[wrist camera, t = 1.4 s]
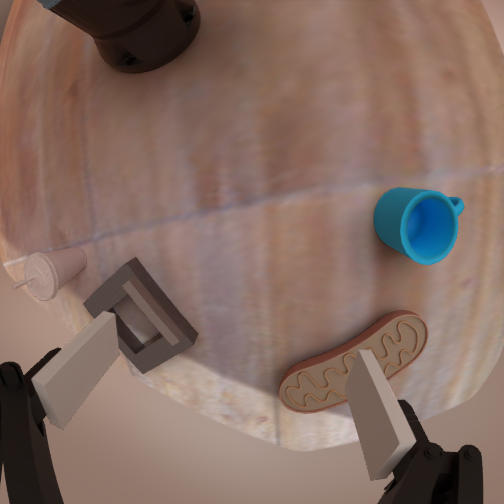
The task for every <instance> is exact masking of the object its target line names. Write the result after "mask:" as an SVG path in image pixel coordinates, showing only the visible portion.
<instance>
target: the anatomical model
mask: <svg viewBox="0 0 504 504" xmlns="http://www.w3.org/2000/svg"><path fill="white" fill-rule="evenodd" d="M427 340H428V327H427V324H426V323H425V321H424V320H423V319H422V318H421V317H420V316H419V315H417V314H415V313H413V312H410V311H405V310H400V311H394V312H391V313H389V314H387V315H385V316H384V317H383V318H381V319H380V320H379V321H377V322H376V323H375V324H374V325H372V326H371V327H370V328H368V329H367V330H365V331H364V332H363V333H361V334H360V335H358V336H357V337H355V338H353V339H352V340H350V341H348V342H347V343H345V344H343V345H341V346H339V347H337V348H335V349H333V350H331V351H329V352H327V353H324V354H321V355H319V356H316V357H313V358H310V359H308V360H305V361H302V362H299V363H297V364H295V365H294V366H292V367H291V368H290V369H289V370H288V371H287V372H286V373H285V375H284V376H283V378H282V380H281V383H280V387H279V397H280V400H281V402H282V404H283V405H284V406H285V407H287V408H288V409H290V410H292V411H294V412H298V413H304V414H307V413H316V412H320V411H324V410H327V409H330V408H332V407H335V406H338V405H341V404H344V403H346V402H348V399H347V396H346V393H345V390H344V387H345V384H346V382H347V379H348V377H349V374H350V372H351V369H352V366H353V364H354V361H355V358H356V355H357V352H358V350H371V351H372V352H373V354H374V356H375V358H376V360H377V362H378V364H379V366H380V368H381V369H382V371H383V373H384V375H385V377H386V379H387V381H388V380H390V379H391V378H393V377H394V376H396V375H397V374H398V373H400V372H401V371H402V370H404V369H405V368H406V367H408V366H409V365H410V364H412V363H413V362H414V361H415V360H416V359H417V358H418V357H419V356H420V355H421V353H422V352H423V350H424V348H425V346H426V344H427Z"/></svg>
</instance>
